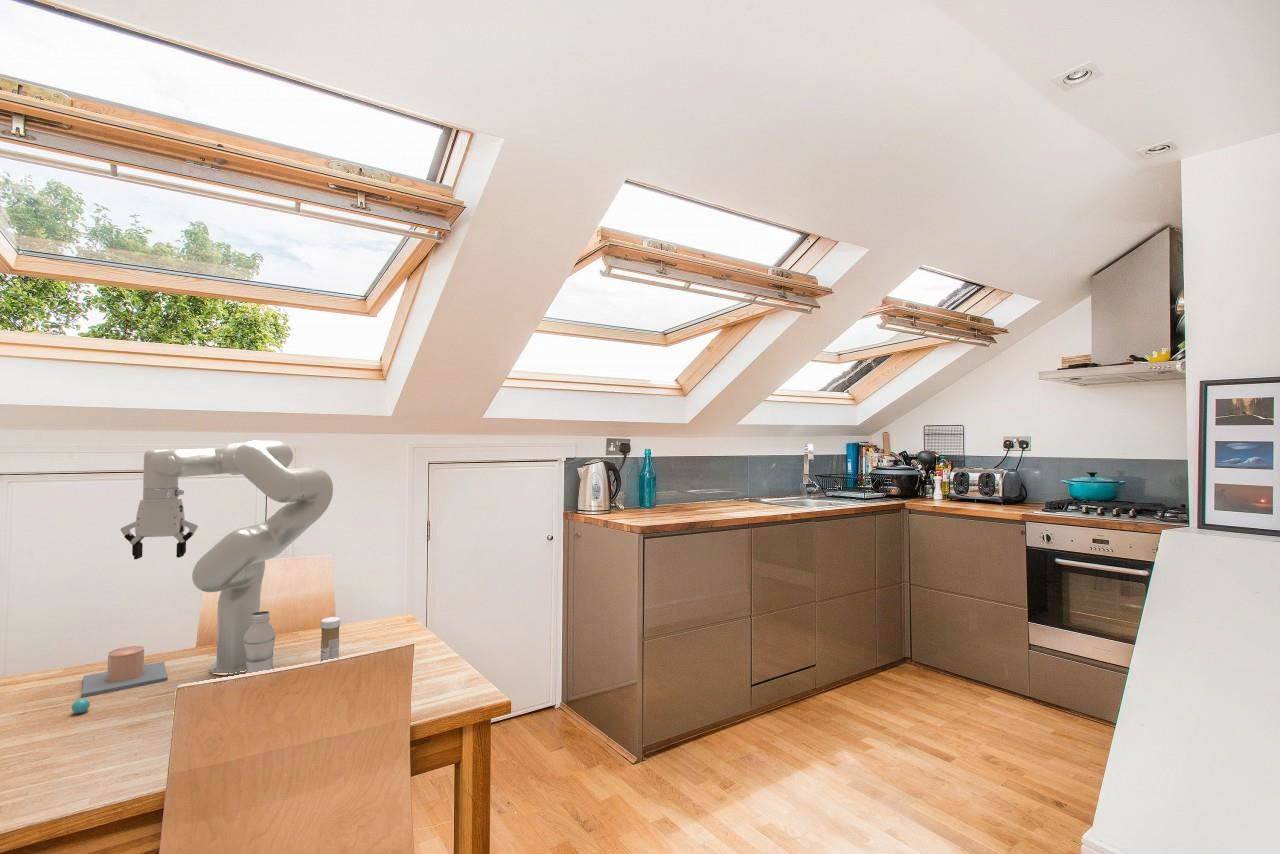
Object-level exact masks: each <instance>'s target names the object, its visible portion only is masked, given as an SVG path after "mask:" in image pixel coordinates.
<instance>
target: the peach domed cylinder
mask: <svg viewBox="0 0 1280 854" xmlns="http://www.w3.org/2000/svg"><path fill="white" fill-rule="evenodd" d="M144 665H145V649H144V646H141V645H132V646H125V647H119V648H117V649H113V650H111V651H109V652H108V655H107V672H108V675H107V680H108V681H110V682H121V681H128V680H131V679H135V678H138V677H140V676H142V675H143V673H144Z"/></svg>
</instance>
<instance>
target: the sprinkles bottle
mask: <svg viewBox="0 0 1280 854" xmlns="http://www.w3.org/2000/svg"><path fill="white" fill-rule="evenodd" d="M340 627H341V618H340V617H337V616H330V617H329V616H328V617H324V618H323V619H321V621H320V628H321V631H320V632H321V633H320V634H321V639H320V640H321V641H320V662H321V661H323V660H328V659H334V658H338V659H339V657H340Z"/></svg>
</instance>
